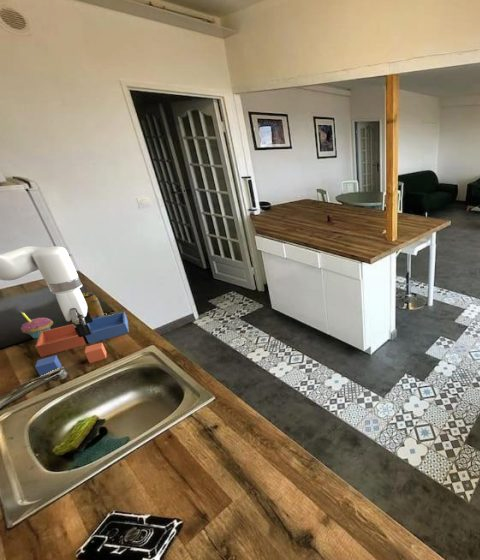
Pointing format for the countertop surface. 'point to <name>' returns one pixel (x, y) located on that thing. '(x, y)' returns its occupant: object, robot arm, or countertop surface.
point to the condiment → (93, 305)
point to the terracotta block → (95, 352)
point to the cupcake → (36, 326)
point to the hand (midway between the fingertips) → (86, 329)
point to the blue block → (47, 365)
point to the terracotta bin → (59, 340)
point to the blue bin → (107, 327)
